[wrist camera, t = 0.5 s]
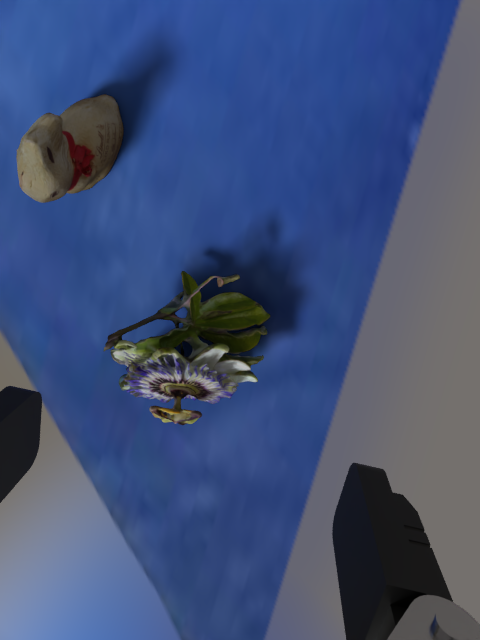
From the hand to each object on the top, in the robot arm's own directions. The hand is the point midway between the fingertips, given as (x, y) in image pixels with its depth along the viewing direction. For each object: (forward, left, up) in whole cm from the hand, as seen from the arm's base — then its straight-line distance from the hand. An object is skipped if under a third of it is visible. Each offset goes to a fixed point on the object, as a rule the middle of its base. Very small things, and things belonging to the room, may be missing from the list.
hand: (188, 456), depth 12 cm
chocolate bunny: (-6, -15, -28) cm, 32 cm away
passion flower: (+7, -4, -28) cm, 29 cm away
